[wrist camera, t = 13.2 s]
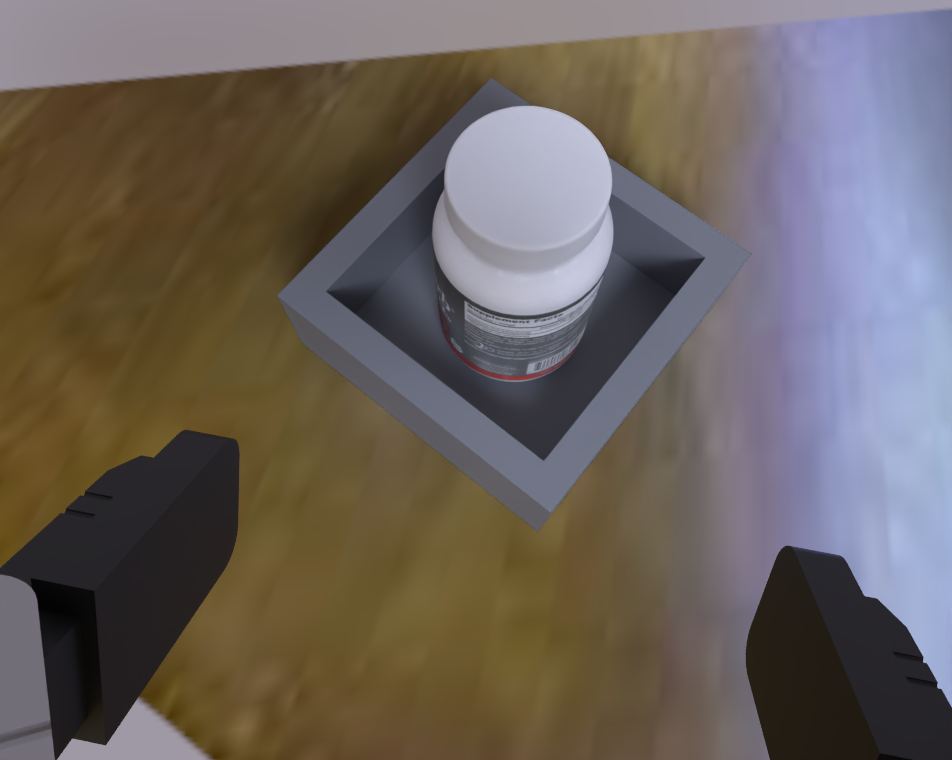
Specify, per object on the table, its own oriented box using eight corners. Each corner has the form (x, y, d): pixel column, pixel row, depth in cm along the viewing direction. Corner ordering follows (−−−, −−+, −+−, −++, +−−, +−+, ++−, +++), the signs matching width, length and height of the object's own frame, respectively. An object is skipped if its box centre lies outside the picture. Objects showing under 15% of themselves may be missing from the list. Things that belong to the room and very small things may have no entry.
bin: (713, 305, 32) (751, 253, 28) (537, 531, 29) (551, 512, 25) (487, 147, 34) (491, 78, 30) (301, 343, 31) (276, 295, 27)
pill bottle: (451, 246, 32) (443, 75, 22) (590, 263, 32) (640, 98, 22) (429, 377, 30) (410, 250, 21) (576, 396, 30) (625, 277, 20)
